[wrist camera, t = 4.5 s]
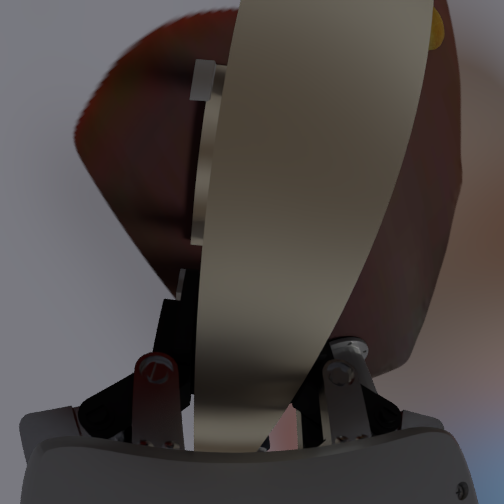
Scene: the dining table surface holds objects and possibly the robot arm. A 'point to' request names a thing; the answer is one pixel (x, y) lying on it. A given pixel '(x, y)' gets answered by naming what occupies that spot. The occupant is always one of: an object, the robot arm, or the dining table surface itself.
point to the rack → (204, 143)
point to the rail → (296, 195)
